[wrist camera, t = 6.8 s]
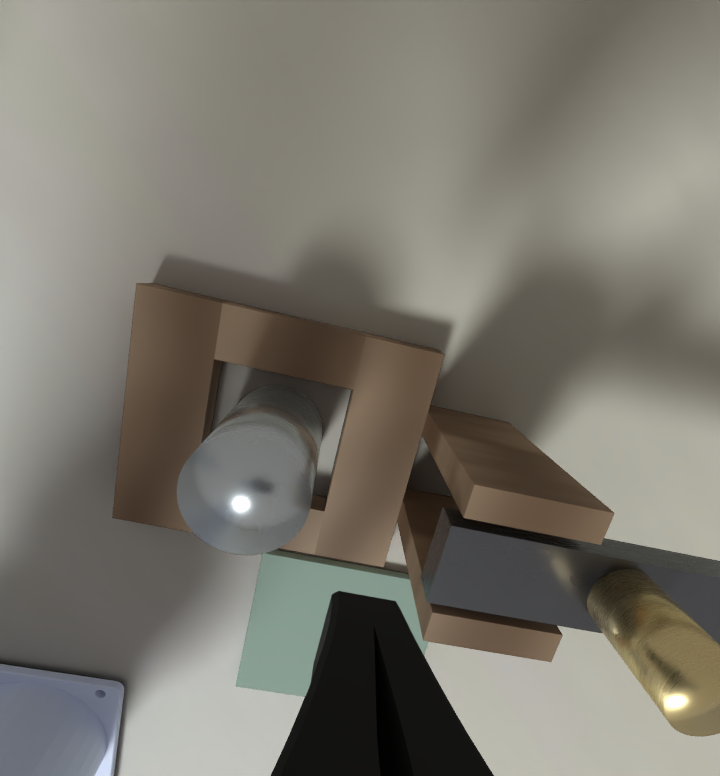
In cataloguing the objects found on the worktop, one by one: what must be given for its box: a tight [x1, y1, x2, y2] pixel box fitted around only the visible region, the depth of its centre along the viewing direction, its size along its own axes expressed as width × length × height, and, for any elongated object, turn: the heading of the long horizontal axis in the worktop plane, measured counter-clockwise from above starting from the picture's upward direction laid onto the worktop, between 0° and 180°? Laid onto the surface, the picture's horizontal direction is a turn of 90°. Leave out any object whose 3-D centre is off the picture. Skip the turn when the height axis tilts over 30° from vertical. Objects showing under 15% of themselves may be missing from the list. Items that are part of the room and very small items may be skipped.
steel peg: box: [177, 385, 322, 555], centre depth 15 cm, size 4×4×6 cm
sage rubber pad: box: [236, 550, 428, 697], centre depth 21 cm, size 9×8×1 cm
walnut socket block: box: [112, 283, 614, 662], centre depth 15 cm, size 16×10×8 cm, turn 77°
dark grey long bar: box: [421, 506, 720, 736], centre depth 11 cm, size 14×2×4 cm, turn 77°
